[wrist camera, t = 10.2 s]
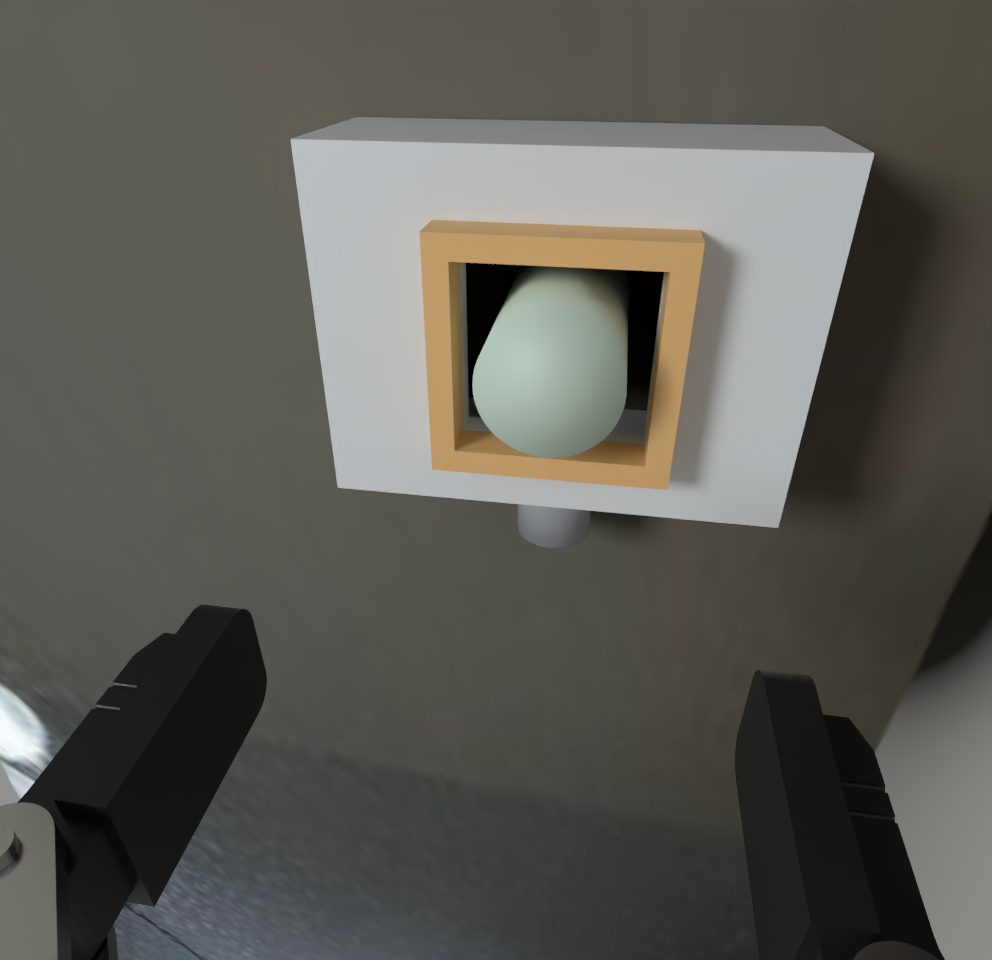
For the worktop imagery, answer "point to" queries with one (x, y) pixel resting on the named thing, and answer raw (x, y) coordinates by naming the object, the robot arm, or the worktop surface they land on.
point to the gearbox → (578, 244)
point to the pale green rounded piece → (556, 360)
